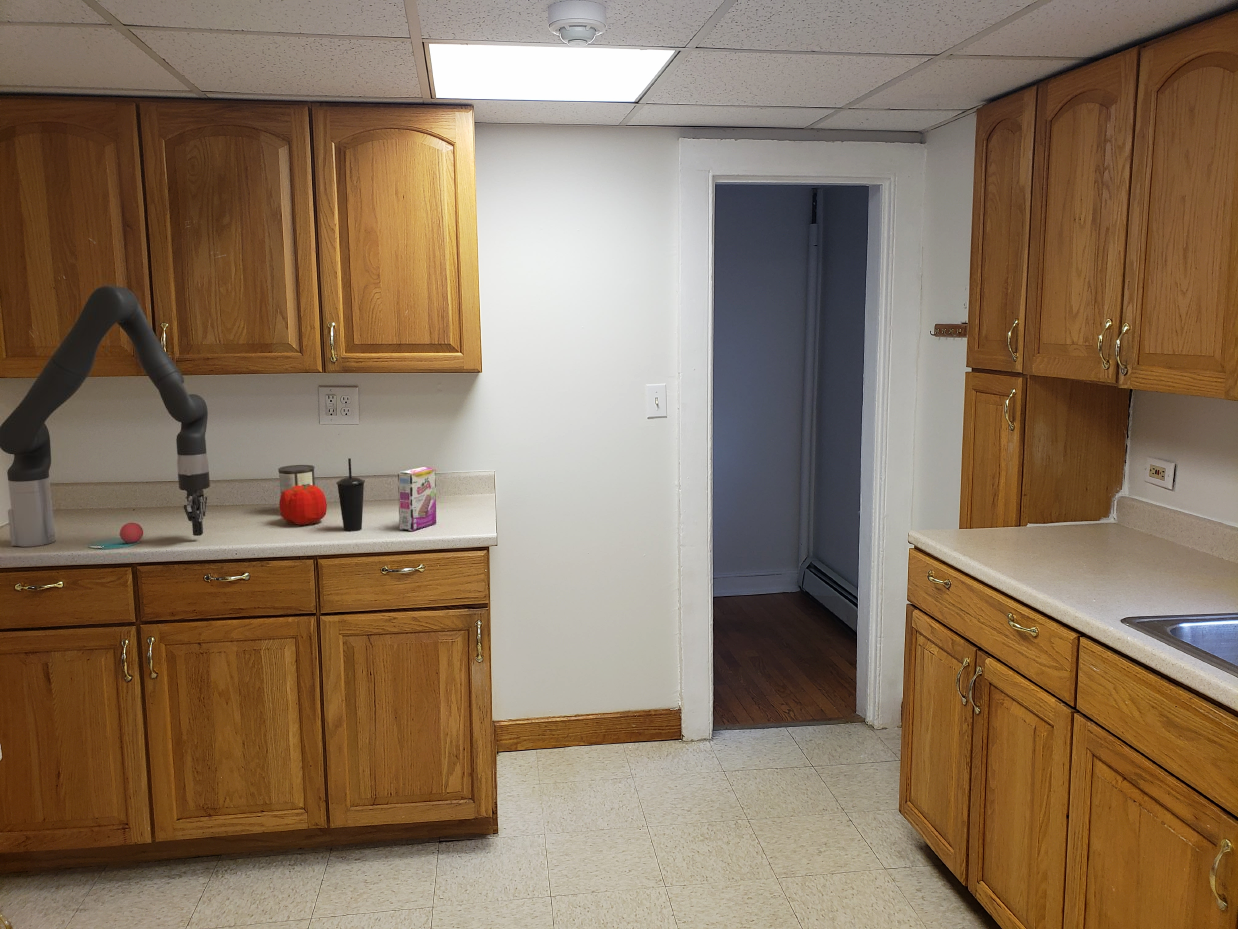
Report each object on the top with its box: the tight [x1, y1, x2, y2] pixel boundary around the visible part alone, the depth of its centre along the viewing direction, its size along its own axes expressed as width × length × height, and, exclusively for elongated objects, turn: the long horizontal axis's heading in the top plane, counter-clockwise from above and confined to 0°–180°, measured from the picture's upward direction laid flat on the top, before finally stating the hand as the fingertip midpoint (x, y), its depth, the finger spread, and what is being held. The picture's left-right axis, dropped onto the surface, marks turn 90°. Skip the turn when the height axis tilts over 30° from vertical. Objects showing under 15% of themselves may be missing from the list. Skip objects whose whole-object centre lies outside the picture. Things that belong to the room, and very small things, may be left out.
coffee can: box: [278, 464, 316, 496], centre depth 285 cm, size 10×10×14 cm
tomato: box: [278, 485, 328, 526], centre depth 272 cm, size 14×13×10 cm
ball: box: [119, 522, 144, 543], centre depth 249 cm, size 6×6×6 cm
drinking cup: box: [335, 457, 366, 532], centre depth 263 cm, size 8×8×20 cm
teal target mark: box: [88, 537, 141, 550], centre depth 249 cm, size 12×12×1 cm
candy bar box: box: [397, 466, 437, 532], centre depth 266 cm, size 11×5×16 cm, turn 154°
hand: (198, 535), depth 252 cm, fingers closed
